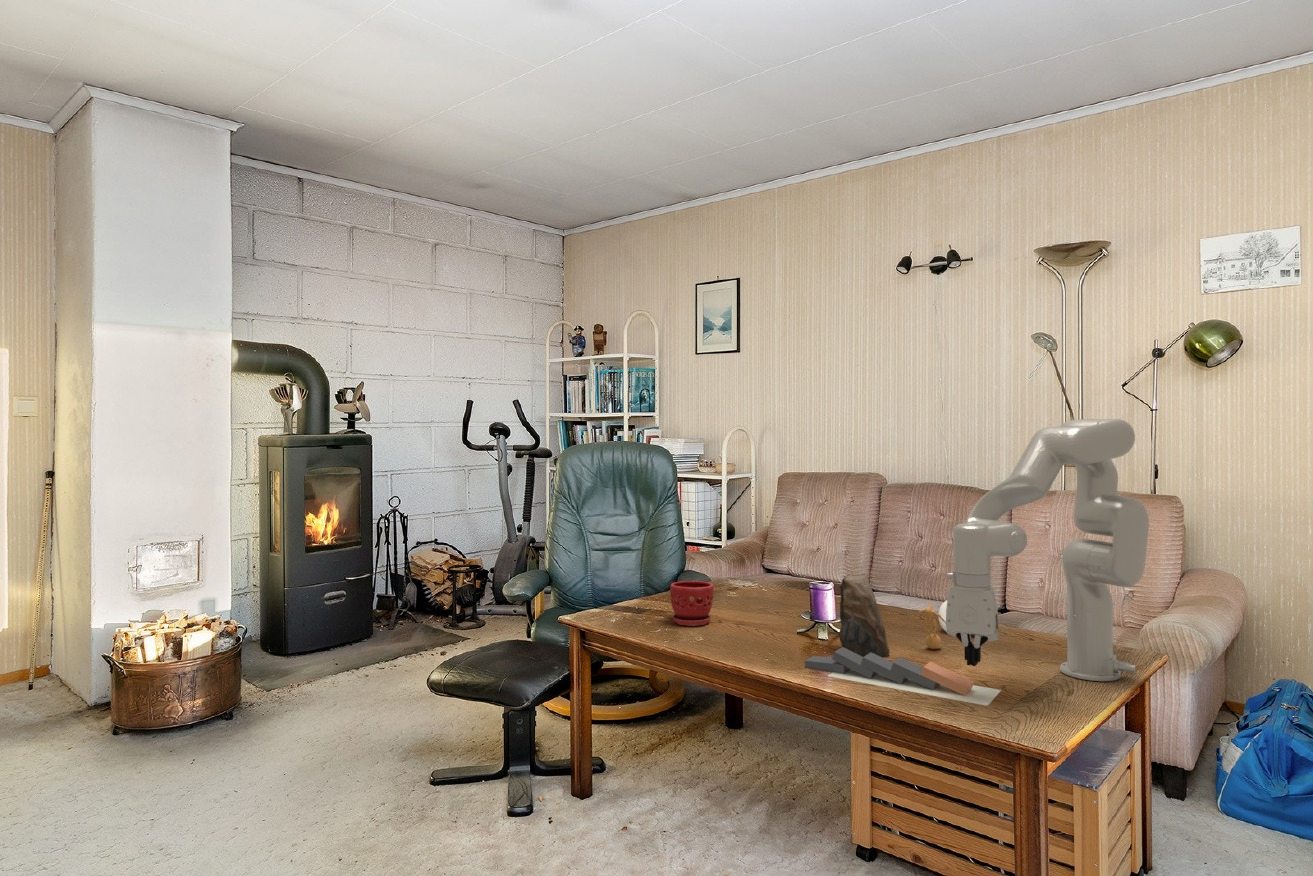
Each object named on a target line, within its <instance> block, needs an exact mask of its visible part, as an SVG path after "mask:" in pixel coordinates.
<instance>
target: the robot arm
mask: <svg viewBox="0 0 1313 876" xmlns="http://www.w3.org/2000/svg"><path fill="white" fill-rule="evenodd" d="M1135 440H1136V435H1135V430H1134V428H1133V426H1132V425H1131V424H1130V423H1129V422H1127V421H1126V420H1123V419H1121V418H1096V419H1095V418H1085V419H1083V418H1082V419H1081V418H1080V419H1079V418H1078V419H1071V420H1068V421H1065V422H1063V423H1061V425H1060V426H1048V427H1042V428H1041V429H1039V430H1037V431H1036V432H1035V433H1034V434H1033V436H1032V437H1031V439H1030V441H1029V443H1028V444H1027V446H1026V448H1025V450H1024V451H1023V454H1022V455H1021V456H1020V458H1019V460H1018V462H1017V464H1016V465H1015V467H1014V469H1013V470H1012V472H1011V474H1010V475H1009V477H1007V478H1006V479H1005V480H1003V481H1001V482H1000V483H998V484H997V485H996V486H994V487H993V488H991V489H990V490H988V491H987V492H986V493H984V495H982V496H981V497H980V498H979V499H978V501H976V503H975V504H974V505H973V507H972V509H971V511H970V512H969V514H968V516H967V518H966V519H965V522H964V523H962V522H961V523H958V524H956V525H955V526H954V527H953V534H952V537H953V543H952V544H953V552H952V553H953V571H952V572H948V573H946V578H947V579H948V580H951V582H952V584H951V585H949V588H948V593H947V598H946V600H947V609H946V627H947V632H946V634H947V635H949V636H952V637H955V638H956V639H957V640H959V641H960V643H961V644H962V646H963V647H964V660H965V661H966V665H967V666H972V667H976V666H977V665H978V664H979V663H980V662H981V658H982V657H981V654H982V653H981V652H982V651H981V650H982V649H981V648H982V646H983V645H984V644H985V643H986V642H995V641H998V640H999V639H1000V636H999V632H998V630H999V613H998V603H997V598H996V592H995V588H994V587H993V586H991V585H992V584H991V583H992V582H991V581H992V580H991V578H992V577H991V558H992V557H993V556H995V557H1006V558H1007V557H1008V558H1009V557H1015V556H1017V555H1020V554H1021V553H1022V552H1023V551H1024V550H1025V549H1026V547H1027V544H1028V536H1027V533H1026V531H1025V530H1024V528H1022V526H1019V525H1018V524H1017V523H1013V522H1010V521H1009V522H1008V521H1003V520H1002V521H1000V518H1001V517H1003V516H1004V515H1005V514H1006V513H1008V512H1010V511H1012V510H1014V509H1016V508H1018V507H1021V506H1024V505H1028V504H1031V503H1033V502H1035V501H1039V500H1041V499H1043V498H1045V497H1046V495H1047V494H1048V492H1049V491H1050V489H1051V487H1052V485H1054V484H1053V483H1054V482H1055V480H1056V478H1057V476H1058V474H1059V473H1060V470H1062V468H1063V466H1065V465H1074V467H1075V470H1076V489H1075V499H1074V507H1073V522H1074V526H1075V527H1076V528H1077V529H1078V530H1079V531H1081V532H1083V533H1087V534H1091V535H1096V536H1097V535H1098V536H1105V537H1112V542H1109V541H1102V540H1097V539H1089V538H1087V539H1086V538H1080V539H1074V540H1071V541H1070V542H1068V543H1067V544H1066V545H1065V547H1064V548H1063V550H1062V554H1061V564H1062V567H1063V568H1062V569H1063V573H1064V574H1063V575H1064V578H1065V585H1066V614H1067V615H1066V624H1067V625H1066V626H1067V627H1066V628H1067V629H1066V630H1067V631H1066V632H1067V634H1066V635H1067V637H1066V638H1067V640H1066V641H1067V646H1066V647H1067V648H1066V650H1067V653H1066V655H1067V657H1066V658H1067V659H1066V660H1067V661H1065V662H1062V663H1060V665H1059V670H1060V671H1061V673H1063V674H1065V675H1066V676H1069V677H1072V678H1076V679H1080V680H1085V681H1092V682H1093V681H1095V682H1113V681H1118V680H1119V679H1121V677H1122V673H1123V672H1125V673H1126V674H1127V673H1128V674H1136V665H1135V664H1131V662H1126V661H1119V660H1120V659H1119V660H1118V659H1117V655H1116V654H1114V629H1113V628H1114V623H1113V622H1114V620H1113V619H1114V617H1113V615H1114V612H1113V611H1114V603H1113V602H1114V601H1113V595H1112V593H1111V591H1110V588H1109V586H1108V585H1111V586H1117V587H1123V588H1130V587H1133V586H1135V585H1137V584H1138V583H1139V582H1140V581H1141V579H1142V577H1143V575H1144V571H1145V566H1146V558H1147V552H1148V551H1147V550H1148V540H1149V529H1150V517H1149V514H1148V513H1149V512H1148V510H1147V508H1146V506H1145V505H1144V503H1143V502H1142V501H1141V500H1139V499H1137V498H1135V497H1131V496H1126V495H1125V496H1123V495H1118V485H1119V483H1118V482H1119V476H1118V475H1119V473H1118V470H1117V468H1116V466H1115V463H1114V462H1113V459H1116V458H1117V459H1118V458H1120V457H1123V456H1124V455H1127V454H1128V453H1129V452H1130V451H1131V449H1132V448H1133V446H1134V444H1135ZM972 635H973V636H974V641H972V637H971V636H972Z"/></svg>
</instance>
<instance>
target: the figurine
mask: <svg viewBox="0 0 1313 876" xmlns="http://www.w3.org/2000/svg"><path fill="white" fill-rule="evenodd" d="M919 614H924V615H925V619H924V622H925V624H926V625H927V628H926V629H927V632H928V635H927V636H926V637H925V640H924V641H925V644H926V646H927V647H928V648H929V649H931V650H937V649H939V648H940V647H941V645H942V639H941V637H940V636H939V635H938V634H937V633H936V632H935V631H936V630H937V627H938V624H937V622H936V619H934V616H936V617H938V616H939V617H940V618H941V620H942V621H943V622H944V623H945V624H946V622H945V620H944V619H943V618H942V617H941V616H940V615H939V612H938V613H937V612H936V611H935V610H934V609H933V606H932V604H929V605H928V606H927V607H926V608H923V609H922V610H919V611H918V612H916V615H915V622H918V620H919ZM939 617H938V618H939ZM931 625H932V626H934V627H933V628H932V633H931V630H930V629H931Z"/></svg>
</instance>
